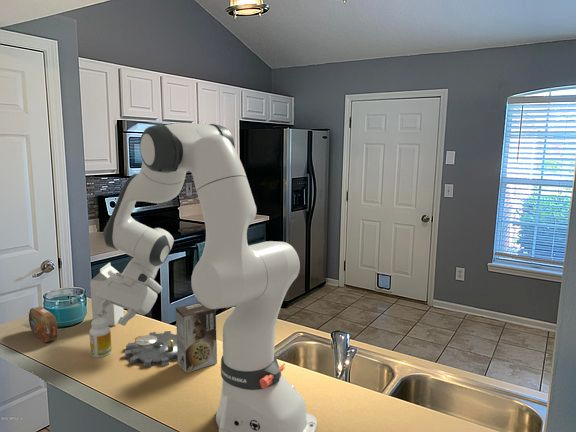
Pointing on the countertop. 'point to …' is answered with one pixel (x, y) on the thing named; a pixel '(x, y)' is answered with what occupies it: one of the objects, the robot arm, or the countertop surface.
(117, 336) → the countertop surface
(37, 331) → the tin
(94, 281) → the milk carton
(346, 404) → the countertop surface
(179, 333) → the coffee box
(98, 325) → the supplement bottle
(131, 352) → the sprocket
